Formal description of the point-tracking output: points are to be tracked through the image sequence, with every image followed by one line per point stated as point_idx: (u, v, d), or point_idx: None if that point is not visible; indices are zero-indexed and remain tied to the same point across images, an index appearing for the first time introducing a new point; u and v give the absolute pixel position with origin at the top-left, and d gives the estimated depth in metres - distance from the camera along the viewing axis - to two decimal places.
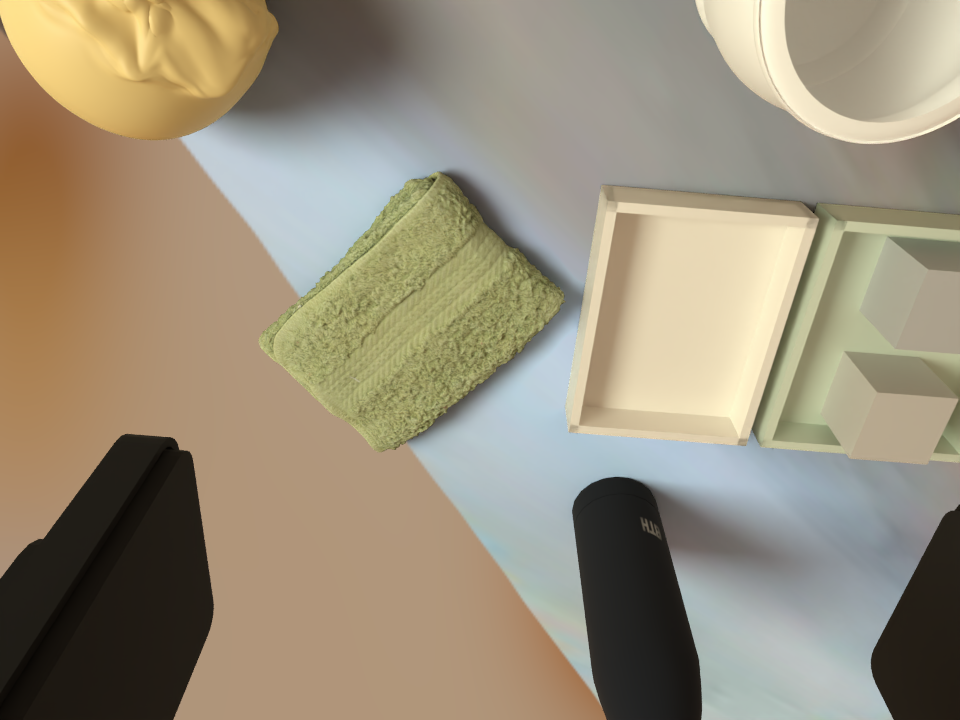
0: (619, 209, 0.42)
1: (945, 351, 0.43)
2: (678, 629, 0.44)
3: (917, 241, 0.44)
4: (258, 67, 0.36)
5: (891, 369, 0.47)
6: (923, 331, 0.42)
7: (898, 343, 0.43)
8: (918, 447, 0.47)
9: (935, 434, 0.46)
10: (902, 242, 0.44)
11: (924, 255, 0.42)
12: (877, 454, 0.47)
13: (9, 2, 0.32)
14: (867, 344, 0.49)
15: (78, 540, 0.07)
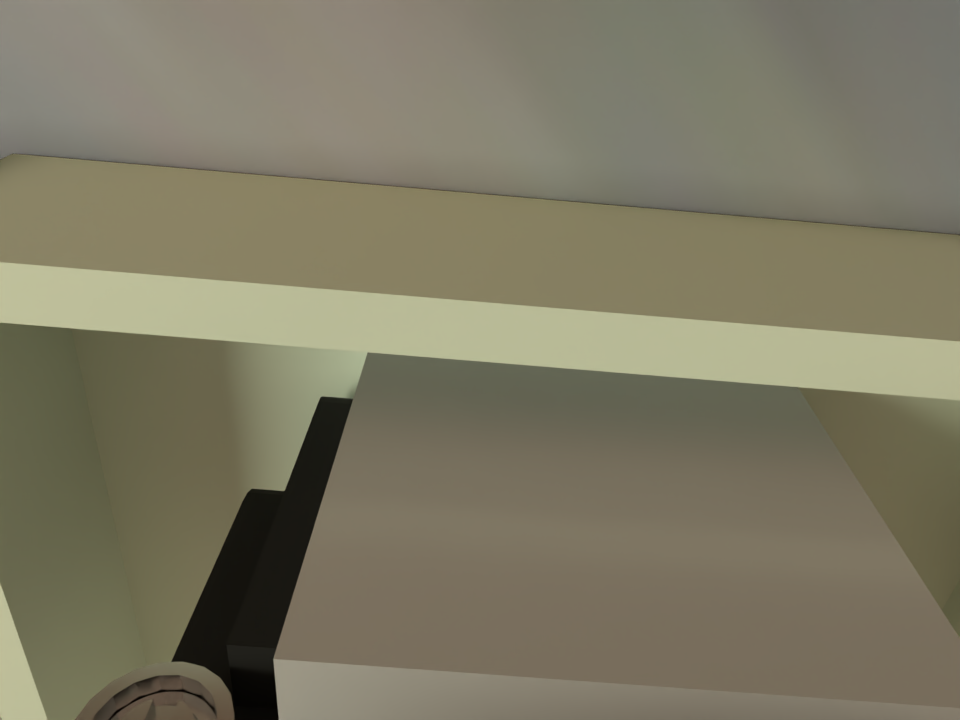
0: None
1: None
2: None
3: None
4: None
5: None
6: None
7: None
8: None
9: None
10: (413, 356, 0.09)
11: (432, 465, 0.07)
12: None
13: None
14: None
15: (318, 482, 0.08)
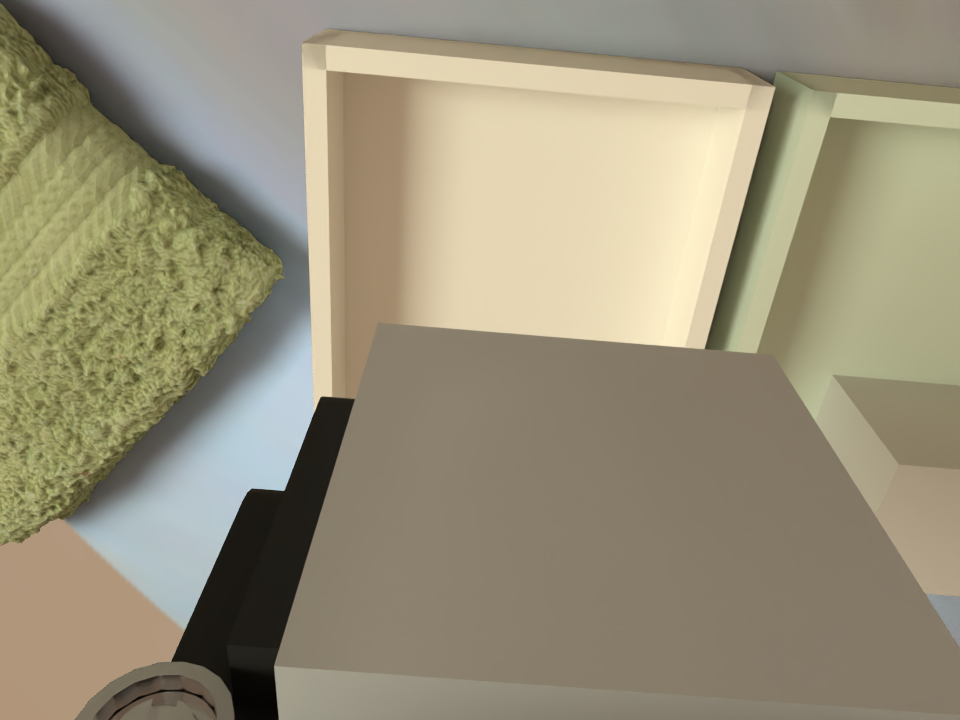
0: (330, 63, 0.19)
1: None
2: None
3: (502, 354, 0.09)
4: None
5: (924, 411, 0.24)
6: None
7: None
8: None
9: None
10: (413, 361, 0.09)
11: (432, 471, 0.07)
12: None
13: None
14: (877, 362, 0.26)
15: (318, 482, 0.08)
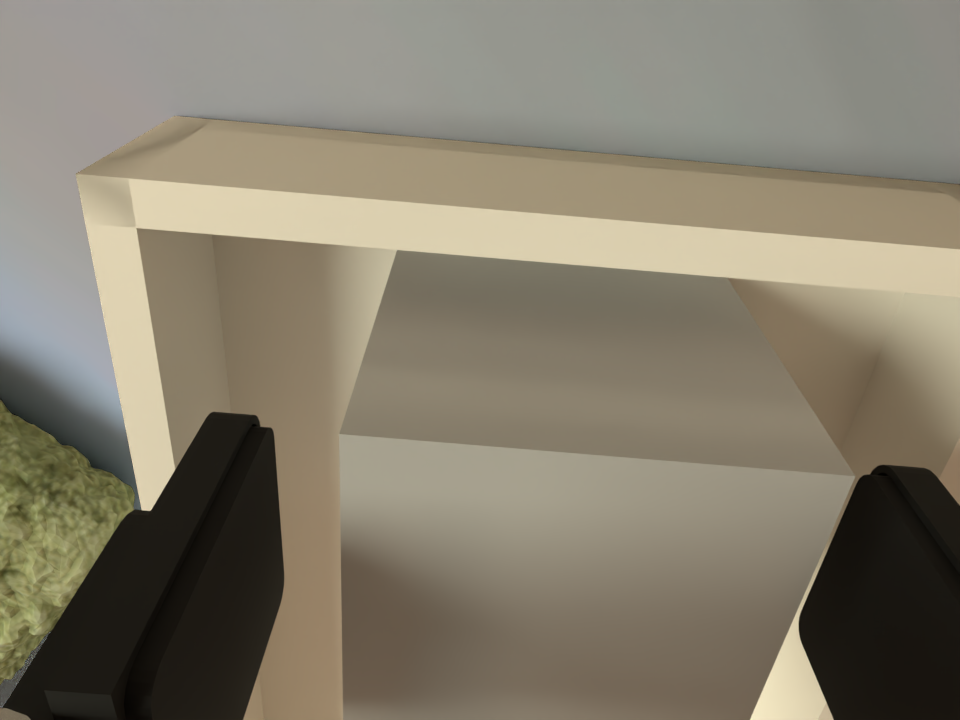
0: (144, 215, 0.09)
1: None
2: None
3: (501, 264, 0.11)
4: None
5: None
6: (440, 692, 0.09)
7: None
8: None
9: None
10: (429, 267, 0.11)
11: (446, 334, 0.09)
12: None
13: None
14: None
15: (186, 506, 0.07)
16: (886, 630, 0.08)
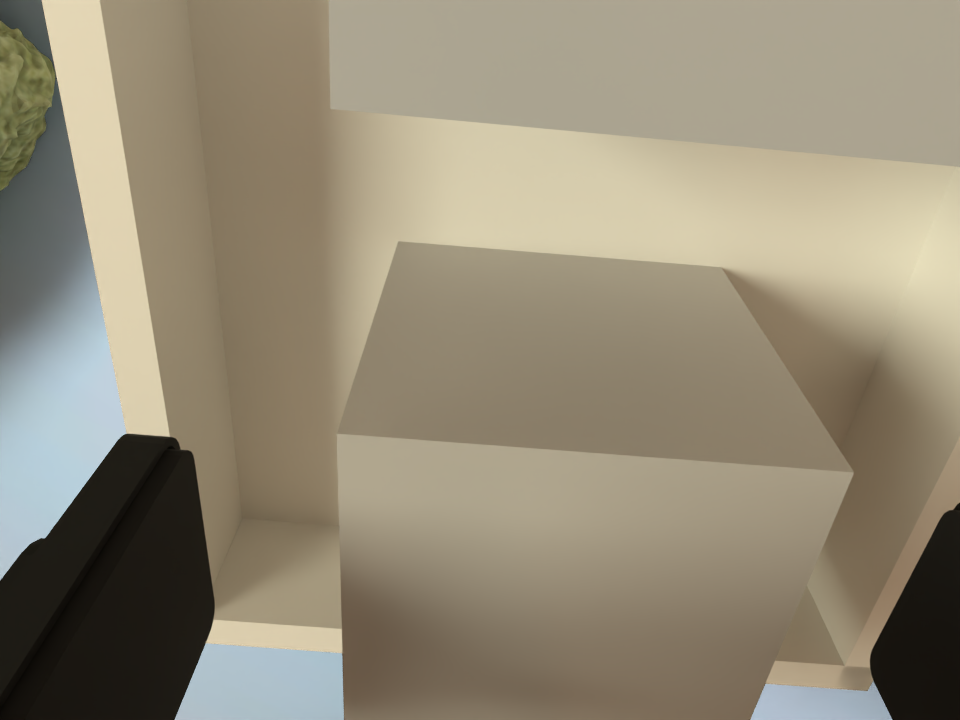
0: None
1: (719, 131, 0.06)
2: None
3: None
4: None
5: (553, 309, 0.10)
6: None
7: (342, 58, 0.05)
8: (667, 708, 0.09)
9: (744, 650, 0.09)
10: None
11: None
12: None
13: None
14: None
15: (80, 540, 0.07)
16: None
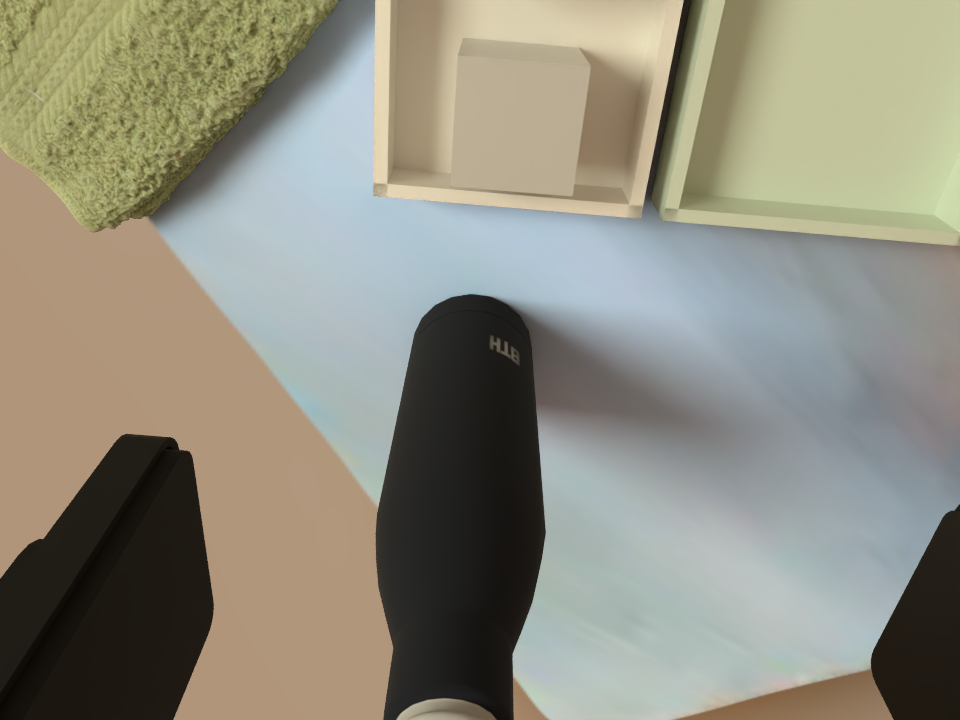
0: None
1: None
2: (509, 463, 0.27)
3: None
4: None
5: (516, 48, 0.30)
6: None
7: None
8: (550, 164, 0.30)
9: (571, 137, 0.29)
10: None
11: None
12: (490, 178, 0.30)
13: None
14: (820, 55, 0.32)
15: (78, 540, 0.07)
16: None
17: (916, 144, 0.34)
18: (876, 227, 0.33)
